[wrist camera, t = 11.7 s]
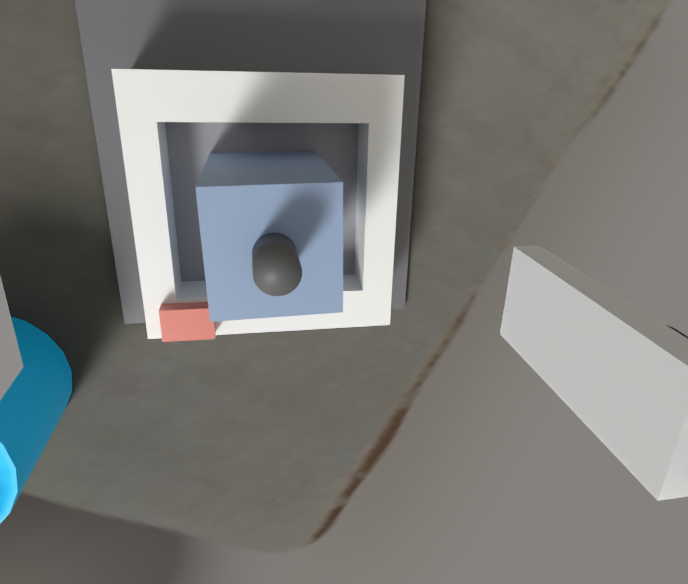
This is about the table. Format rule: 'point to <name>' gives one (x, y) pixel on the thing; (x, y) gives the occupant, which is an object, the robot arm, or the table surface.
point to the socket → (251, 137)
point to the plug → (271, 235)
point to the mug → (30, 409)
